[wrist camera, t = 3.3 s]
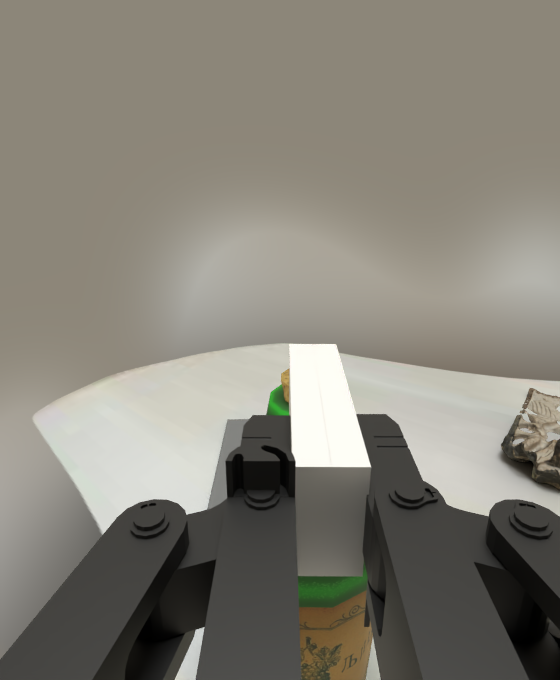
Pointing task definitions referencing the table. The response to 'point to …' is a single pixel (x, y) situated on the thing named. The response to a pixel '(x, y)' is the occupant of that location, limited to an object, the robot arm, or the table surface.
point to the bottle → (329, 607)
